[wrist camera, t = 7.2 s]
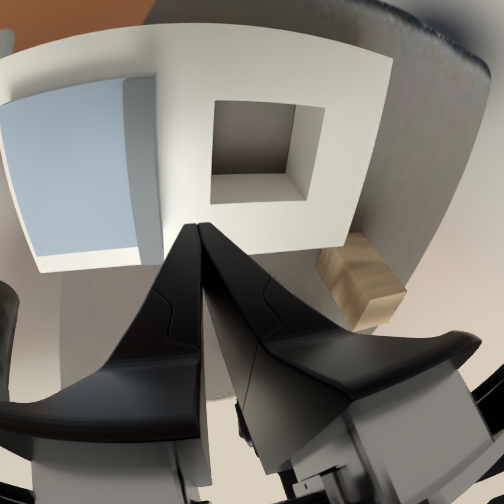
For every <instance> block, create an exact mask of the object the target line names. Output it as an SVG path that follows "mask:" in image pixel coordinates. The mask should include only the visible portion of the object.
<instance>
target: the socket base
mask: <svg viewBox="0 0 504 504" xmlns="http://www.w3.org/2000/svg"><path fill="white" fill-rule="evenodd" d="M392 63H393V59H392V58H390V57H387V56H384V55H381V54H378V53H375V52H372V51H369V50H366V49H363V48H359V47H356V46H353V45H349V44H345V43H342V42H338V41H334V40H330V39H326V38H321V37H317V36H312V35H307V34H302V33H297V32H291V31H285V30H279V29H272V28H265V27H256V26H246V25H234V24H217V23H169V24H152V25H140V26H131V27H122V28H115V29H109V30H102V31H96V32H91V33H87V34H81V35H77V36H72V37H68V38H64V39H60V40H56V41H52V42H49V43H45V44H42V45H39V46H35V47H32V48H29V49H26V50H23V51H20V52H18V53H15V54H12V55H9V56H7V57H4V58H2V59H0V106H1V105H2V104H4V103H6V102H8V101H11V100H14V99H18V98H21V97H24V96H28V95H31V94H35V93H38V92H42V91H46V90H50V89H54V88H58V87H63V86H67V85H72V84H77V83H82V82H88V81H93V80H100V79H106V78H113V77H121V76H129V75H139V74H151V73H157V141H158V166H159V184H160V199H161V212H162V223H163V240H164V260H165V258H166V257H167V255H168V253H169V251H170V249H171V247H172V245H173V243H174V241H175V239H176V238H177V236H178V234H179V232H180V230H181V228H182V226H183V225H184V224H188V223H196V224H198V223H202V222H210V223H212V224H213V225H214V226H215V227H216V228H217V229H219V230H220V231H221V232H222V233H223V234H224V235H225V236H227V237H228V238H229V239H230V240H231V241H232V242H233V243H235V244H236V245H237V246H238V247H239V248H240V249H241V250H243V251H244V252H245V253H246V254H247V255H251V254H262V253H273V252H284V251H295V250H306V249H317V248H327V247H338V246H344V243H345V240H346V237H347V234H348V231H349V228H350V225H351V222H352V219H353V216H354V213H355V209H356V206H357V203H358V200H359V197H360V193H361V190H362V187H363V183H364V180H365V176H366V173H367V170H368V166H369V162H370V159H371V155H372V151H373V148H374V144H375V140H376V136H377V132H378V128H379V124H380V120H381V116H382V111H383V107H384V103H385V98H386V93H387V89H388V84H389V79H390V74H391V69H392ZM215 100H234V101H258V102H274V103H286V104H296V109H295V115H294V122H293V128H292V134H291V141H290V147H289V153H288V159H287V165H286V172H285V174H225V175H211V163H212V140H213V121H214V105H215ZM0 150H1V155H2V160H3V164H4V168H5V172H6V176H7V180H8V184H9V188H10V191H11V195H12V198H13V201H14V204H15V208H16V211H17V214H18V217H19V220H20V223H21V226H22V229H23V231H24V234H25V237H26V239H27V242H28V245H29V247H30V250H31V252H32V255H33V257H34V259H35V262H36V264H37V266H38V269H39V271H40V273H47V272H57V271H70V270H81V269H93V268H104V267H116V266H127V265H139V264H141V260H140V255H139V250H138V247H131V248H120V249H109V250H99V251H88V252H78V253H68V254H58V255H48V256H39V257H37V256H36V253H35V251H34V248H33V246H32V243H31V240H30V238H29V235H28V232H27V230H26V227H25V224H24V221H23V218H22V215H21V212H20V209H19V205H18V202H17V199H16V195H15V192H14V188H13V185H12V181H11V177H10V173H9V169H8V164H7V160H6V155H5V150H4V145H3V140H2V134H1V128H0Z"/></svg>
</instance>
